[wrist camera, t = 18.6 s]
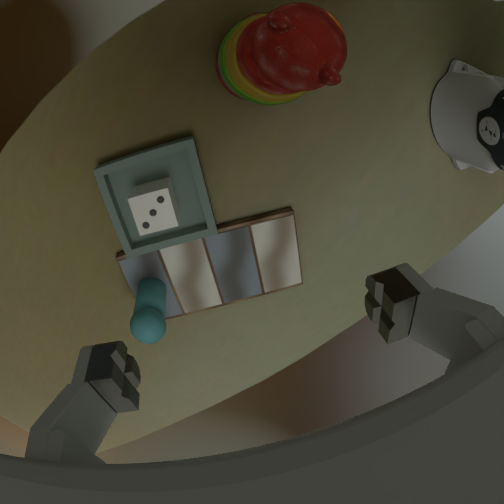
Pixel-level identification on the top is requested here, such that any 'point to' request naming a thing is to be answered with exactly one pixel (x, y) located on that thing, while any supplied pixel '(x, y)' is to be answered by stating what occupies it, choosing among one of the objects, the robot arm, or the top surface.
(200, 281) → the board
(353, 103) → the top surface
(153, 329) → the pawn
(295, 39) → the stacking bear
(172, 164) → the tray
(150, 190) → the die
